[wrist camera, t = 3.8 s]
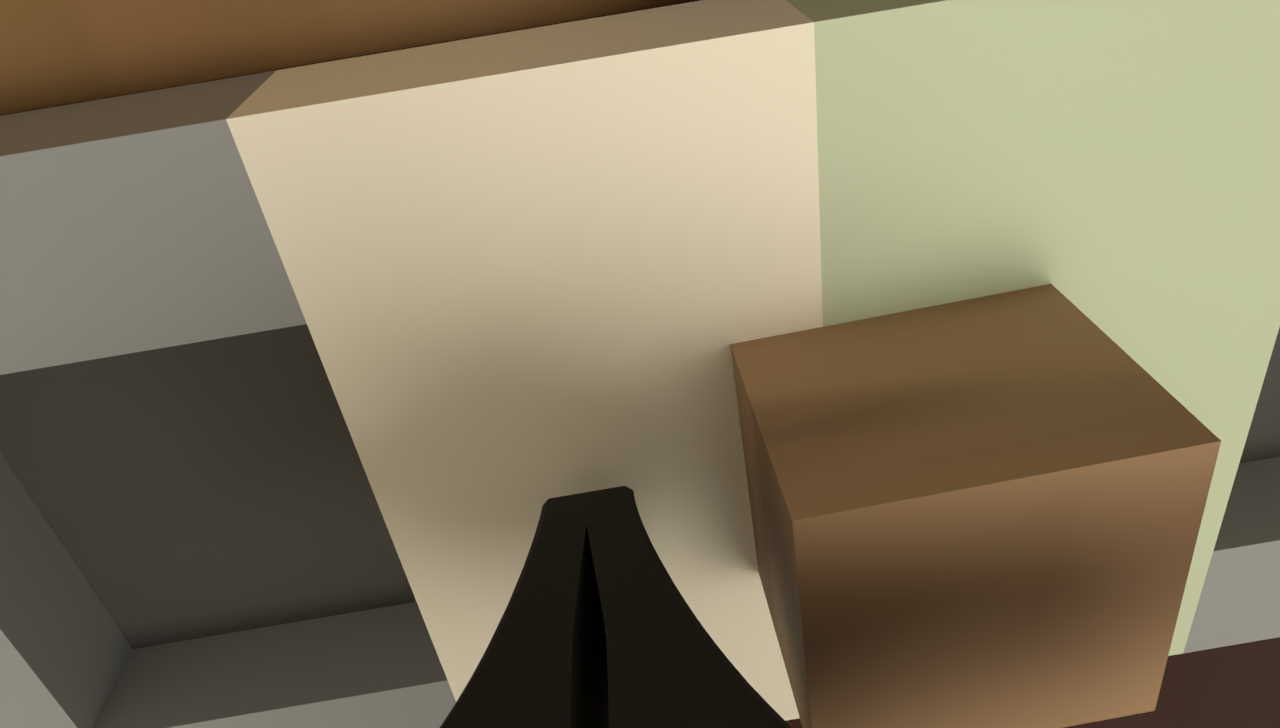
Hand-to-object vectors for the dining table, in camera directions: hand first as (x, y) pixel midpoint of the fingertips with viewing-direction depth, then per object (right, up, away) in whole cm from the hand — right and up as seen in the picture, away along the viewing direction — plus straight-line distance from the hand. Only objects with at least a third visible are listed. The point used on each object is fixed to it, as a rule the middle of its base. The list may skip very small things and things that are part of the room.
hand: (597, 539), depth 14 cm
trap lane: (+4, +3, +3) cm, 5 cm away
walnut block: (+5, +1, +1) cm, 5 cm away
